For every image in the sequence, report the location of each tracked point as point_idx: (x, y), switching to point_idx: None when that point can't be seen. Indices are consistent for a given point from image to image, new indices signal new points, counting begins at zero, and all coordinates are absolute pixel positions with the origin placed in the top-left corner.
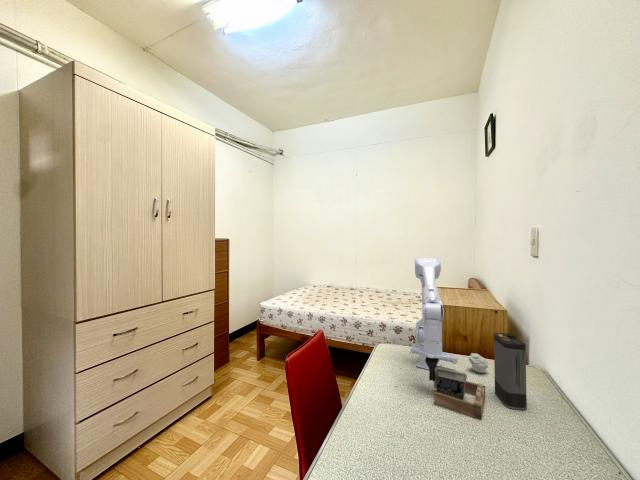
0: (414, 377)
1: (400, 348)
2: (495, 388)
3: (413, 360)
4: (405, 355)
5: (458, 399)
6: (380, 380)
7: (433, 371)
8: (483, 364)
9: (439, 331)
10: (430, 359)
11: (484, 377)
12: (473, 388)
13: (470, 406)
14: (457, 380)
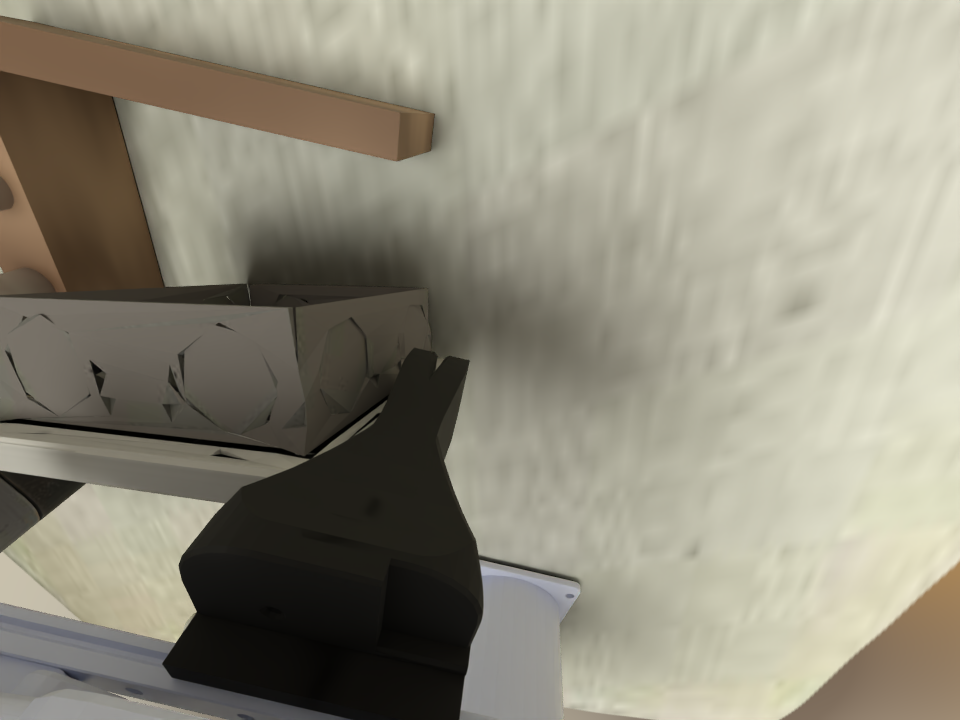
0: (599, 474)
1: (657, 704)
2: None
3: (590, 628)
4: (636, 660)
5: (121, 81)
6: (956, 356)
7: (381, 417)
8: None
9: None
10: (351, 628)
11: None
12: None
13: (6, 21)
14: (50, 299)
